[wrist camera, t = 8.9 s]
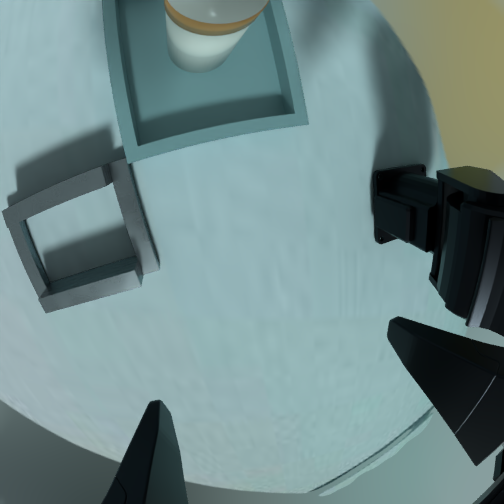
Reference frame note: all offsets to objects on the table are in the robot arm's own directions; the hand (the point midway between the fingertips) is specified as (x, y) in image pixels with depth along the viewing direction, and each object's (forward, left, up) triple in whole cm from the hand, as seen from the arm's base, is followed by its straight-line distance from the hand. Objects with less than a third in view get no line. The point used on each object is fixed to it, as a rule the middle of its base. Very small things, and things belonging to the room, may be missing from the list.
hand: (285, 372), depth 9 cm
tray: (-1, -14, -12) cm, 18 cm away
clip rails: (+10, -4, -12) cm, 16 cm away
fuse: (-1, -14, -11) cm, 18 cm away
